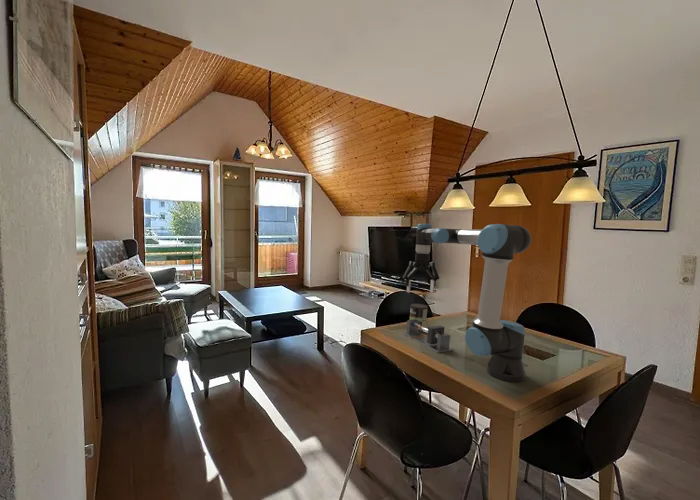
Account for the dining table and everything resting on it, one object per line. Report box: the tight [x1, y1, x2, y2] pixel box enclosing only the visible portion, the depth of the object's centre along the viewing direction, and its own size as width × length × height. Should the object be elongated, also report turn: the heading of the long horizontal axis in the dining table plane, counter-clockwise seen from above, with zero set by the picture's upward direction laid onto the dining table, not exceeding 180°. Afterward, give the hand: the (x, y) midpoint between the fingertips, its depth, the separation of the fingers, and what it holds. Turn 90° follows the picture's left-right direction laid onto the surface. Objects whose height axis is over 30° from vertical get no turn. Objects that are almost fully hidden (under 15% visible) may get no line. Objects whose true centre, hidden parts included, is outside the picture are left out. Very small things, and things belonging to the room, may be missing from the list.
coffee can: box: [409, 303, 428, 332], centre depth 205 cm, size 10×10×14 cm
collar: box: [426, 325, 445, 345], centre depth 176 cm, size 3×8×8 cm, turn 116°
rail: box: [402, 319, 454, 354], centre depth 182 cm, size 30×10×8 cm, turn 26°
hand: (420, 292), depth 180 cm, fingers open, 13 cm apart
